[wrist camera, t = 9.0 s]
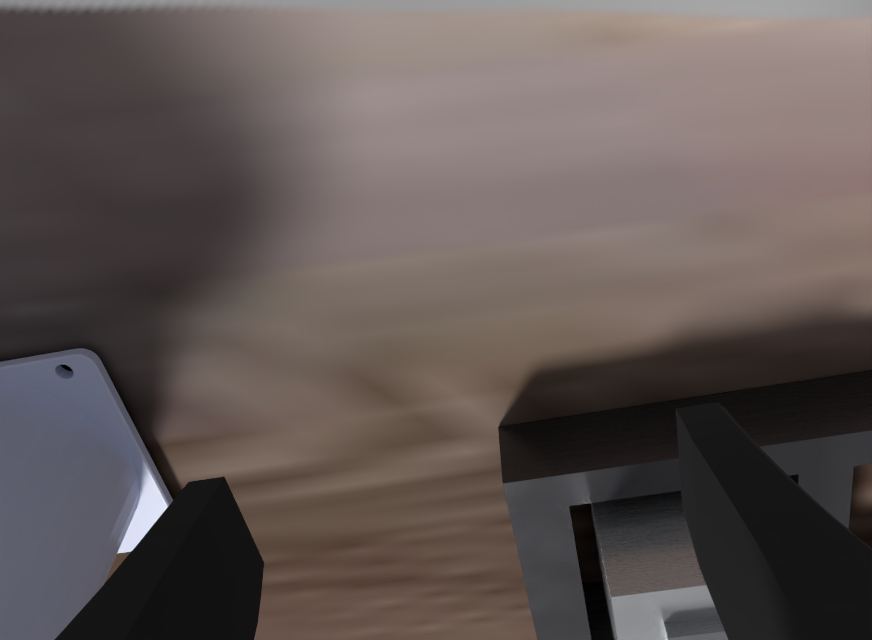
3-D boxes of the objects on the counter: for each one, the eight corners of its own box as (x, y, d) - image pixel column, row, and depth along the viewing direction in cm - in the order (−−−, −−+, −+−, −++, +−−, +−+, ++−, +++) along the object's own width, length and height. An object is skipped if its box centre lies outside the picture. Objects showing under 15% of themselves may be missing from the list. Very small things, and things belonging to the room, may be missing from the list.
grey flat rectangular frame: (538, 613, 31) (545, 673, 28) (498, 427, 26) (503, 483, 24) (1059, 548, 28) (1109, 608, 26) (1119, 332, 24) (1185, 385, 22)
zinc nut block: (598, 561, 29) (630, 723, 24) (582, 457, 27) (614, 613, 22) (743, 542, 29) (807, 703, 24) (742, 433, 26) (813, 588, 21)
